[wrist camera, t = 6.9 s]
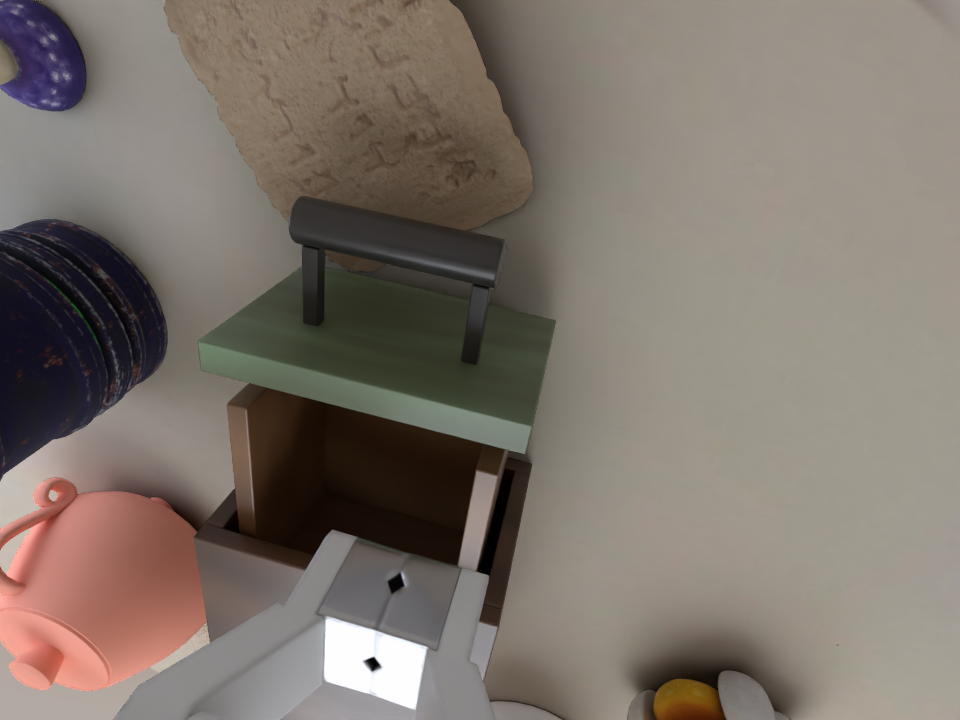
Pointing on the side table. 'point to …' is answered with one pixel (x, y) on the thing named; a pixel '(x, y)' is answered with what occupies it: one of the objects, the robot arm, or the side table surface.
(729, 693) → the rainbow petal toy
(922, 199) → the side table surface
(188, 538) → the sugar bowl
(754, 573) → the side table surface
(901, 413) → the side table surface
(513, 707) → the mug
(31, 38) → the toy lamp
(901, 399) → the side table surface
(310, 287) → the drawer
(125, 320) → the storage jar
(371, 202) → the clay tablet
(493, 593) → the cabinet
